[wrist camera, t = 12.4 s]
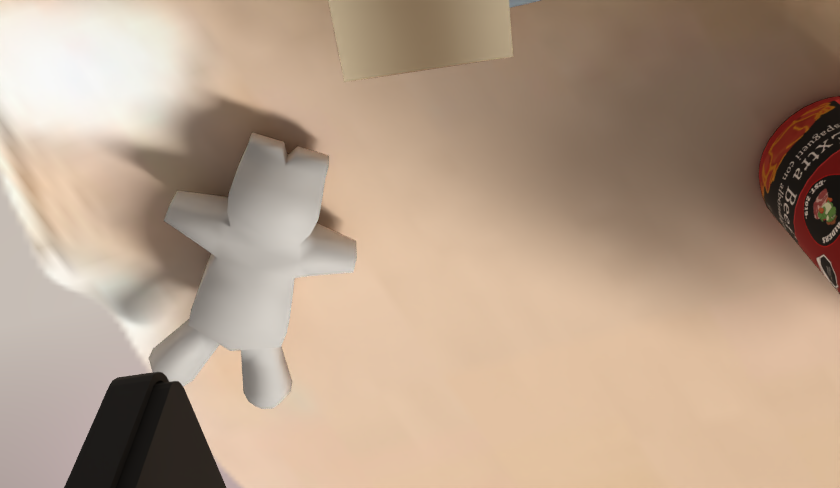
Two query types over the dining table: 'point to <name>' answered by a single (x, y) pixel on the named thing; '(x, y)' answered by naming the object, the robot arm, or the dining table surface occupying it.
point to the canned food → (807, 182)
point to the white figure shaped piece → (253, 265)
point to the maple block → (418, 34)
